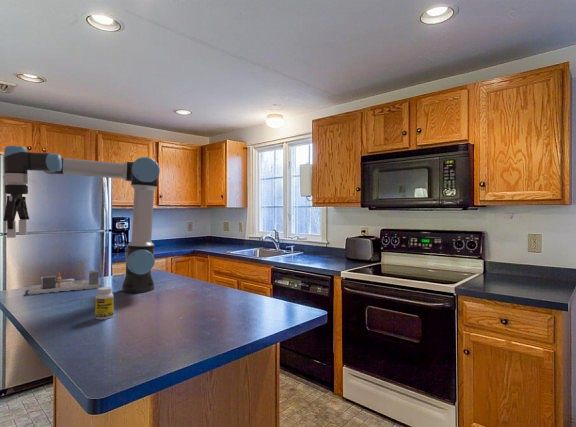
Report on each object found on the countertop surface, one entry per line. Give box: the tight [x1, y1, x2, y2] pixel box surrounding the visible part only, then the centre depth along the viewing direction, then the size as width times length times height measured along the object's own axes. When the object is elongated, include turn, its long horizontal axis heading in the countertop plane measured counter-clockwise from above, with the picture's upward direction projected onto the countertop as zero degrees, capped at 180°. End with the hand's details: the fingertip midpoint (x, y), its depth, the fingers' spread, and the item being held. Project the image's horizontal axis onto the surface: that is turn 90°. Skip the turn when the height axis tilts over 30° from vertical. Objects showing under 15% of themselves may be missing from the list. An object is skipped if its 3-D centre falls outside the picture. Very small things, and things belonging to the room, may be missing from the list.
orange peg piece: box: [57, 272, 62, 283], centre depth 181 cm, size 2×3×5 cm, turn 32°
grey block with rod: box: [40, 275, 75, 288], centre depth 177 cm, size 14×10×5 cm
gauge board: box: [27, 269, 102, 296], centre depth 179 cm, size 30×13×8 cm, turn 122°
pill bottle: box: [94, 286, 115, 320], centre depth 133 cm, size 6×6×11 cm
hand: (17, 236), depth 145 cm, fingers open, 13 cm apart
